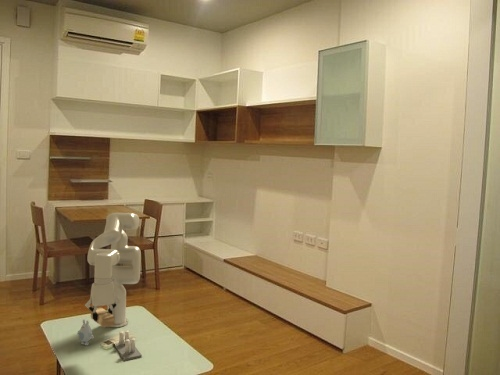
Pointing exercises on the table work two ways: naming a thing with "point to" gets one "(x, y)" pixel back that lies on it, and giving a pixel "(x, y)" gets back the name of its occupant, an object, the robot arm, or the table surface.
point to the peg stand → (127, 347)
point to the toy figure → (85, 333)
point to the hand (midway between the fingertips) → (102, 318)
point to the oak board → (103, 317)
